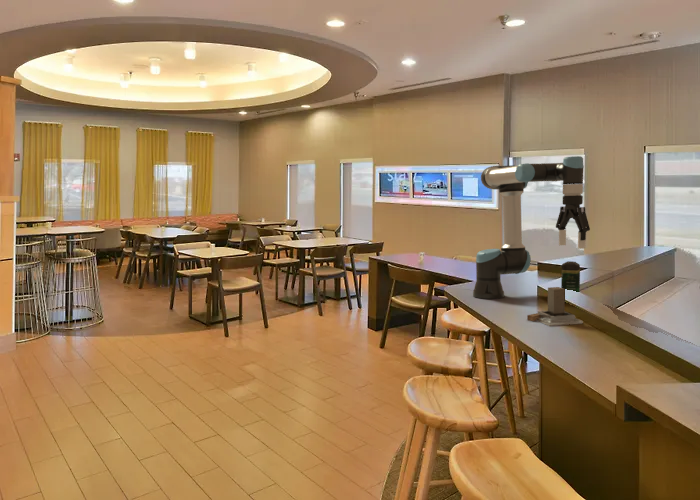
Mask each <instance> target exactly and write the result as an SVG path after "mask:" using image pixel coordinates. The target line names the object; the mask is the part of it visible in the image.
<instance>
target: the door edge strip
mask: <svg viewBox="0 0 700 500" xmlns="http://www.w3.org/2000/svg"><path fill="white" fill-rule="evenodd" d="M526 317H527V319H526V321H528V322H529V321H530V322H535V321H537V320H536V318H539V317H540V314H538V312H537V313H536V312H535V313H532V314H527V316H526Z"/></svg>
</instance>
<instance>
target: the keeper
mask: <svg viewBox="0 0 700 500" xmlns="http://www.w3.org/2000/svg"><path fill="white" fill-rule="evenodd" d="M537 313H538V314H540V317H539V318H536V321H537V322H539V323H541V324H544V325H546V326H547V327H554V326H565V325H567V326H568V325H569V324H570V325H583V322H584V321H583V320H581V319H578V318H576V315H575V314H573V313H570V312H568V311H566V310H564V315H560V316H551V315H548V310H539V311H537Z"/></svg>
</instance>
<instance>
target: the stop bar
mask: <svg viewBox="0 0 700 500" xmlns="http://www.w3.org/2000/svg"><path fill="white" fill-rule="evenodd" d="M565 303H566V302H565V289H563V288H561V286H553V287H551V286H550V287H547V311H548V315H551V316H560V315H564V311H565V309H566V308H565V306H566V305H565Z"/></svg>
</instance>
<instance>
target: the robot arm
mask: <svg viewBox="0 0 700 500" xmlns="http://www.w3.org/2000/svg"><path fill="white" fill-rule="evenodd" d="M584 167H585V165H584V158H583V156H578V155H575V156H564V158H563V161H562V162H556V163H555V162H554V163H553V162H549V163H548V162H547V163H546V162H545V163H520V164H518V165H492V166H488V167H486V168H485V169H483V171H482V173H481V174H480V181H481V184H482V185H483V186H484V187H485V188H487V189H490V190H498V191H499V195H500V196H502V223H503V226H502V227H503V245H502V246H501V247H500V248H487V249H482V250H480V251H478V252H477V253H476V258H475V264H476V265H475V266H476V267H475V269H476V270H475V271H476V274H475V275H476V277H475V278H476V281H475V285H474V289H473V291H472V296H473V297H474V298H477V299H483V300H484V299H486V300H491V299H492V300H494V299H496V300H497V299H502V298H505V291H504V289H503V285H502V281H501V277H502V275H513V274H514V275H518V274H523V273H525V272H527V271H528V270H529V268H530V265H531V255H530V252H529V250H527V249H526V246H525V245H524V244H523V235H522V230H523V229H522V205H521V204H522V203H521V201H522V200H521V199H522V197H521V196H522V195H523V193H524V189H526V188H527V186H528V184H529V183H533V182H534V183H535V182H562V195H563V196H562V206H560V207H559V208H560V209H559V214H558V216H557V220H556V223H555V228H557V229H558V245H559V246H566V245H567V241H566V240H567V225H568V223H569V222H570V219H573V220H574V222H575V224H576V227H577V229H578V233H577V249H580V250H581V249H586V239H587V233H588V232H589V231H590V230H591V228H590V224H589V219H588V218H587V213H586V207H585V206H580V205H583V203H584V202H583V200H584V198H583V195H582V194H583V192H584V190H583V189H584V186H583V185H584ZM563 205H564V206H563Z"/></svg>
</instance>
